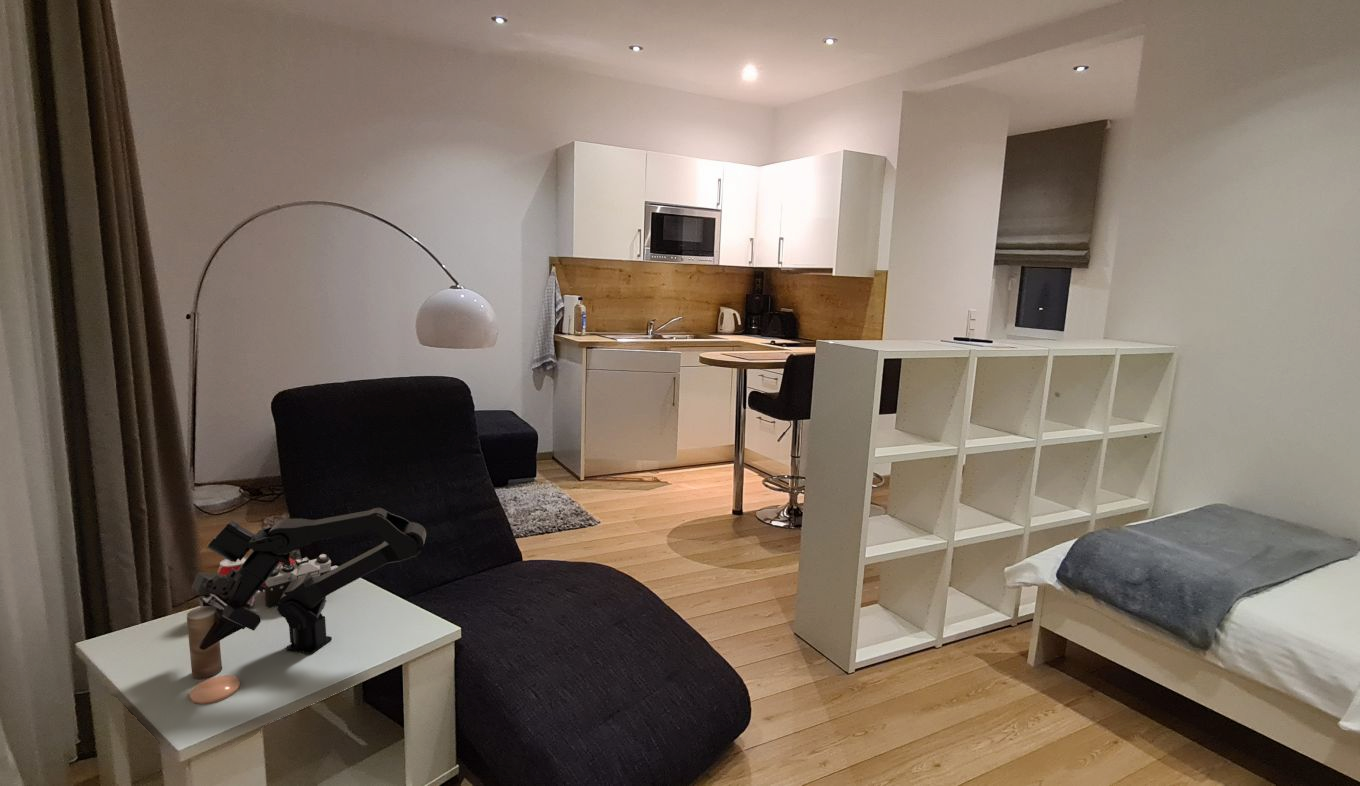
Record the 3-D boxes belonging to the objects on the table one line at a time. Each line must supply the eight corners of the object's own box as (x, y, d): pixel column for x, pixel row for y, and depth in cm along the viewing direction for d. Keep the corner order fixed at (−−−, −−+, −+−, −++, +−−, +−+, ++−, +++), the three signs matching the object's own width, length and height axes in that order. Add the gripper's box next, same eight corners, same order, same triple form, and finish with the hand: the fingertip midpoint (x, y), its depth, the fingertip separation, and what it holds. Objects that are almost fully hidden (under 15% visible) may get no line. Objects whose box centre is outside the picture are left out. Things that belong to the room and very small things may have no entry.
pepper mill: (228, 667, 143) (223, 607, 141) (206, 680, 138) (201, 619, 136) (207, 663, 144) (202, 604, 142) (185, 677, 139) (180, 615, 137)
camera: (277, 624, 163) (276, 587, 160) (262, 600, 170) (261, 564, 167) (342, 604, 174) (343, 569, 171) (325, 582, 181) (326, 548, 178)
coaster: (249, 682, 138) (249, 679, 138) (214, 706, 130) (214, 702, 130) (215, 676, 140) (215, 673, 139) (179, 700, 132) (178, 696, 132)
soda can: (227, 618, 163) (223, 569, 161) (215, 609, 167) (211, 561, 165) (260, 607, 168) (256, 560, 166) (247, 599, 172) (244, 552, 170)
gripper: (202, 544, 146) (143, 613, 139) (238, 569, 135) (175, 645, 128) (246, 568, 153) (192, 634, 147) (284, 593, 142) (227, 666, 135)
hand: (196, 644), depth 139 cm, fingers closed on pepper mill, 5 cm apart
